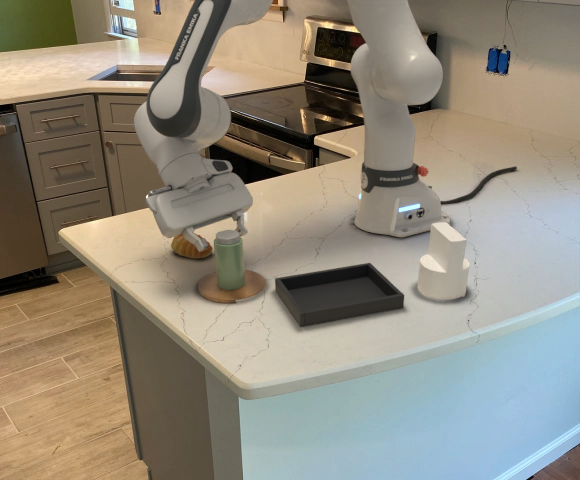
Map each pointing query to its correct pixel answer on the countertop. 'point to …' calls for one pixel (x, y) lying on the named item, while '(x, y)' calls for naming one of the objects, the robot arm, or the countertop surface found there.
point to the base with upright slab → (444, 264)
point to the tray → (337, 294)
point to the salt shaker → (229, 260)
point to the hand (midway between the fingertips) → (224, 242)
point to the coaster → (217, 294)
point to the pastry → (189, 247)
